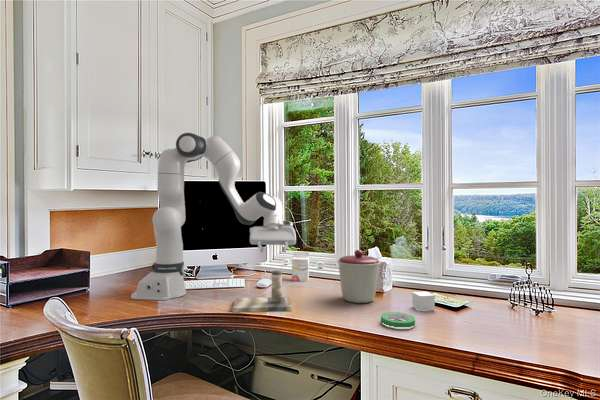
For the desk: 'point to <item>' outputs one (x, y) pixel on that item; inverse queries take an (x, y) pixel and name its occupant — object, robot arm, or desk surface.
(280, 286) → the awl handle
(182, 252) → the robot arm
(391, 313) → the tape roll
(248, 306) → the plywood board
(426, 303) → the adhesive note
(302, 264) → the ink cartridge box
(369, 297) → the canister
